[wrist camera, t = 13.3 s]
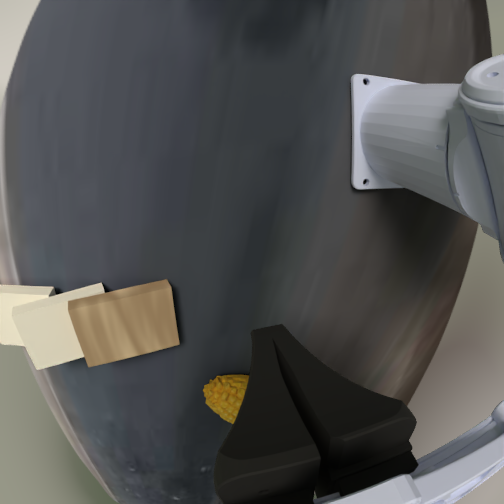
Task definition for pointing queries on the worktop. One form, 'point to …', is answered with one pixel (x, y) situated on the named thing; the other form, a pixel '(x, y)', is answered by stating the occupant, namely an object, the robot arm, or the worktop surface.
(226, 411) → the food
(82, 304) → the domino
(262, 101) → the worktop surface
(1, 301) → the domino
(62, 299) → the domino
